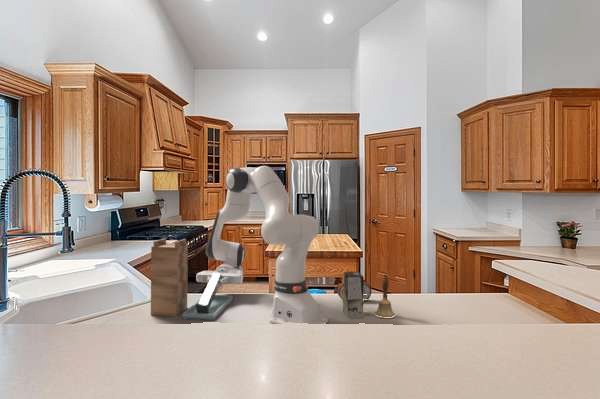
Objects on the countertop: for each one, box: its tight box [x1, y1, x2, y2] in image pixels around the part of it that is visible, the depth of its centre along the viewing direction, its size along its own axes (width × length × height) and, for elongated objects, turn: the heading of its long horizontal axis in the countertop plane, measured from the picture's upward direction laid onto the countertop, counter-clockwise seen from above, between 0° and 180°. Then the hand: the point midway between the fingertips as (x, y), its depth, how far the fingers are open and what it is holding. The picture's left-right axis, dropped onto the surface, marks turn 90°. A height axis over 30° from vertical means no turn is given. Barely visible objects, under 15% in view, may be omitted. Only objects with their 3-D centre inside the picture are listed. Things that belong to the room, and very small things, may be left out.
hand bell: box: [374, 273, 396, 317], centre depth 134 cm, size 8×8×16 cm
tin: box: [337, 281, 372, 301], centre depth 151 cm, size 15×3×8 cm, turn 93°
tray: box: [181, 294, 233, 321], centre depth 137 cm, size 24×12×2 cm, turn 175°
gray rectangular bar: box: [195, 273, 222, 313], centre depth 138 cm, size 20×4×4 cm, turn 175°
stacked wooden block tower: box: [150, 238, 189, 317], centre depth 133 cm, size 10×10×28 cm
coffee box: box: [342, 271, 365, 319], centre depth 134 cm, size 9×6×16 cm
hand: (214, 281), depth 143 cm, fingers closed on gray rectangular bar, 3 cm apart
